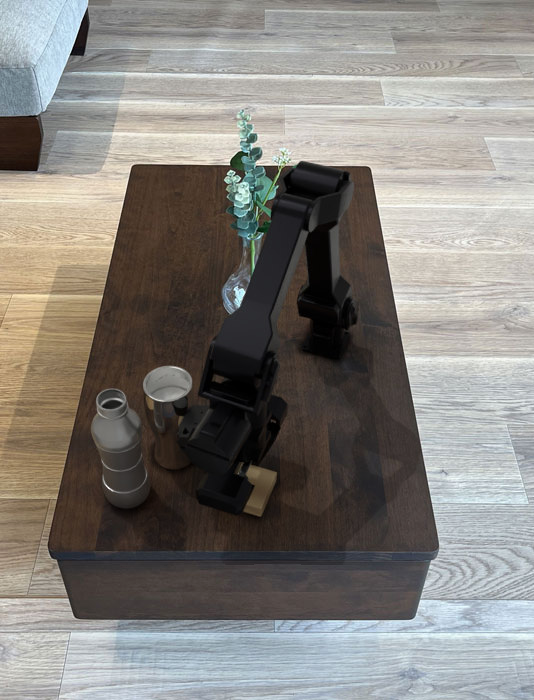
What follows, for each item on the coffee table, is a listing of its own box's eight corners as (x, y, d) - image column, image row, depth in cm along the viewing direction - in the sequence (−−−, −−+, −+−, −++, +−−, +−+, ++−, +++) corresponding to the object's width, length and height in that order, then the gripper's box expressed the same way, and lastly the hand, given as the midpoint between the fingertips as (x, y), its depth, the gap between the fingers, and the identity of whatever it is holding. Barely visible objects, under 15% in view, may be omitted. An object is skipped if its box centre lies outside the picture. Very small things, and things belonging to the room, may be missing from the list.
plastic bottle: (128, 468, 114) (111, 371, 100) (162, 493, 111) (149, 397, 97) (94, 497, 111) (72, 401, 97) (129, 523, 108) (110, 428, 94)
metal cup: (155, 477, 113) (146, 407, 103) (147, 440, 118) (137, 369, 107) (203, 466, 114) (199, 396, 104) (193, 430, 119) (187, 360, 109)
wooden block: (227, 465, 114) (226, 457, 113) (276, 480, 112) (276, 472, 111) (209, 501, 110) (209, 492, 108) (260, 517, 108) (261, 508, 106)
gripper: (212, 347, 108) (215, 422, 118) (153, 450, 95) (163, 523, 106) (290, 368, 105) (286, 443, 116) (240, 476, 92) (241, 549, 103)
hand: (244, 486), depth 110 cm, fingers closed on wooden block, 6 cm apart
